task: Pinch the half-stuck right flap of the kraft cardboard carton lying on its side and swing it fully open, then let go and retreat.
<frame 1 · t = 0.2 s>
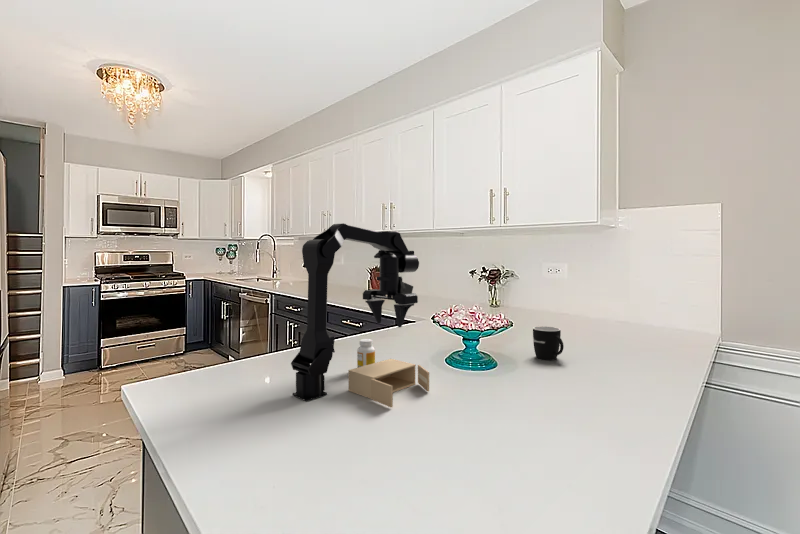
hand: (389, 325, 127), 14 cm above the countertop, fingers open, 9 cm apart
carton: (383, 387, 114), on the countertop
left flap: (381, 392, 101), point 3 cm above the countertop, hinge at 95.0°
right flap: (423, 377, 113), point 3 cm above the countertop, hinge at 60.0°
supplement bottle: (366, 372, 129), on the countertop
mug: (549, 359, 143), on the countertop
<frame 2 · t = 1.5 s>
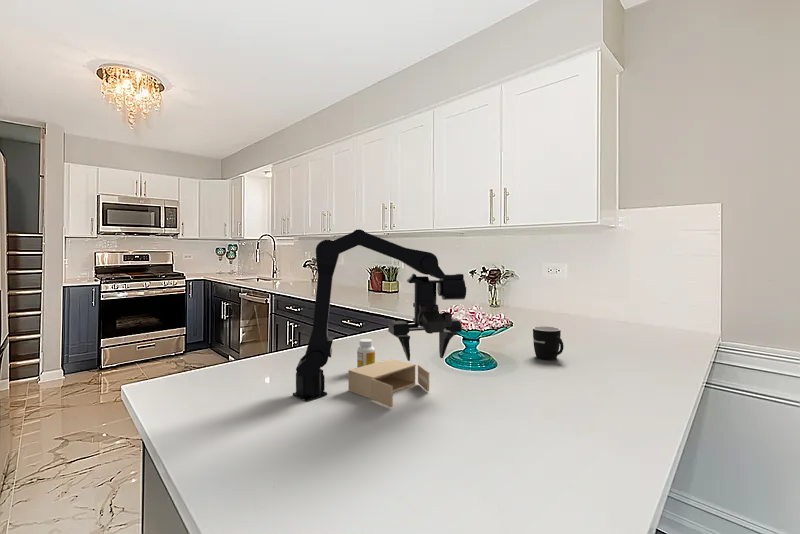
hand: (425, 359, 111), 8 cm above the countertop, fingers open, 9 cm apart
nothing on the countertop moved.
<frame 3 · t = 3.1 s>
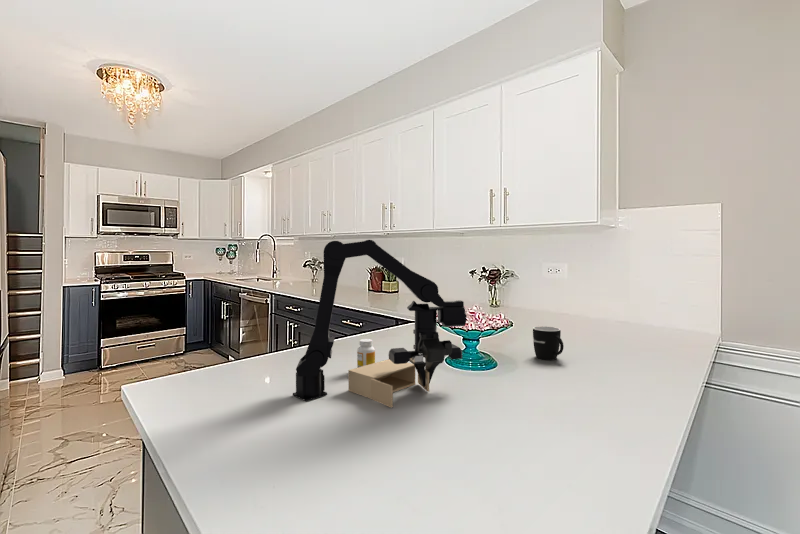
hand: (425, 386, 111), 1 cm above the countertop, fingers closed, pressing on right flap
right flap: (423, 377, 113), point 3 cm above the countertop, hinge at 60.0°, touching gripper
everything else where it was.
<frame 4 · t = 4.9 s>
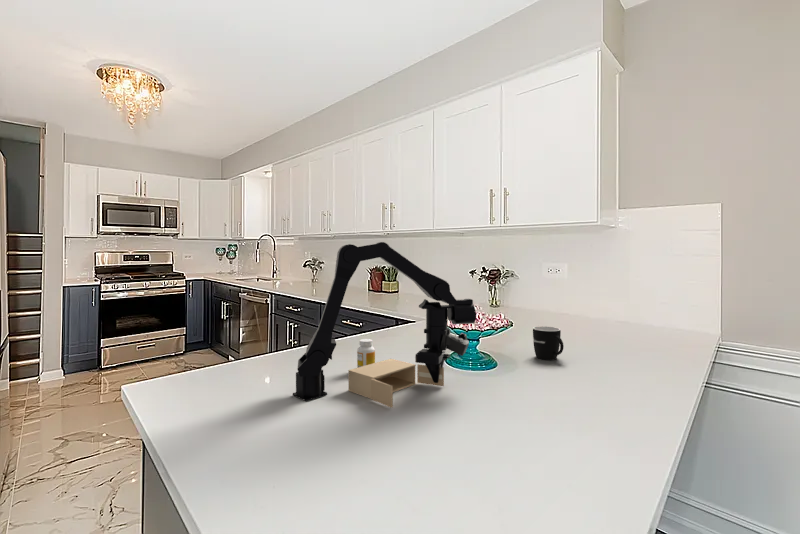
hand: (436, 382, 114), 1 cm above the countertop, fingers closed
right flap: (430, 375, 115), point 3 cm above the countertop, hinge at 108.3°, touching gripper
everything else where it was.
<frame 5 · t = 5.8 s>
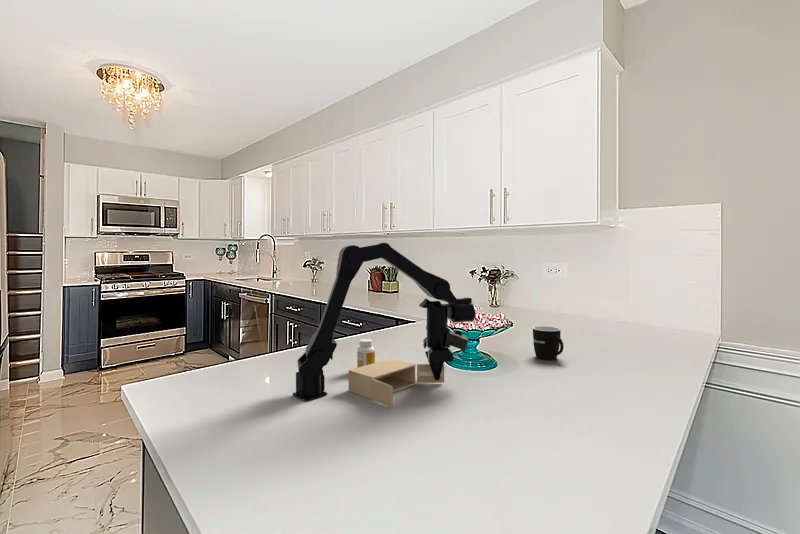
hand: (437, 379, 117), 1 cm above the countertop, fingers closed, pressing on right flap
right flap: (430, 373, 117), point 3 cm above the countertop, hinge at 133.2°, touching gripper
everything else where it was.
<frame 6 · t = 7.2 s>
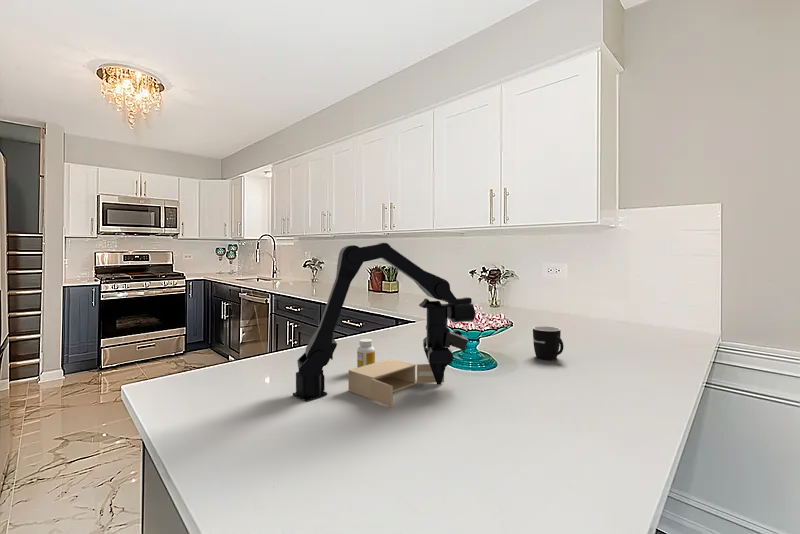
hand: (436, 379, 117), 1 cm above the countertop, fingers open, 9 cm apart
right flap: (430, 373, 117), point 3 cm above the countertop, hinge at 134.6°
everything else where it was.
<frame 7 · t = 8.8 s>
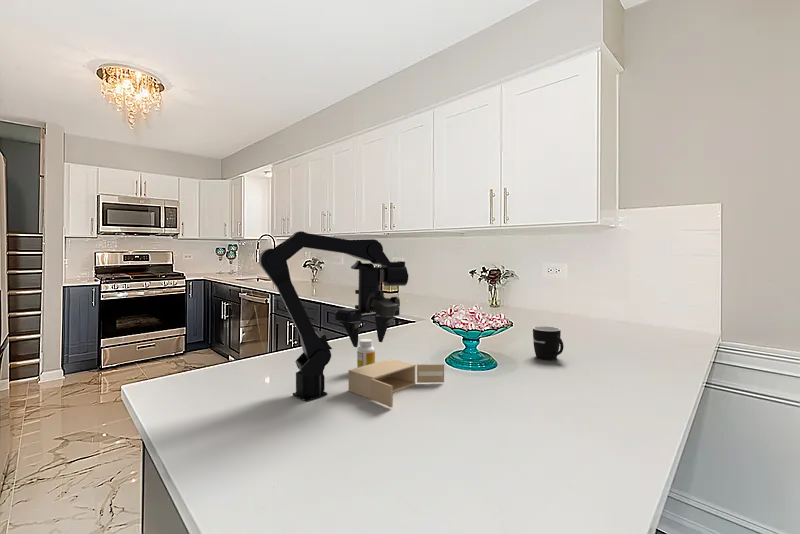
hand: (368, 344, 113), 12 cm above the countertop, fingers open, 9 cm apart
nothing on the countertop moved.
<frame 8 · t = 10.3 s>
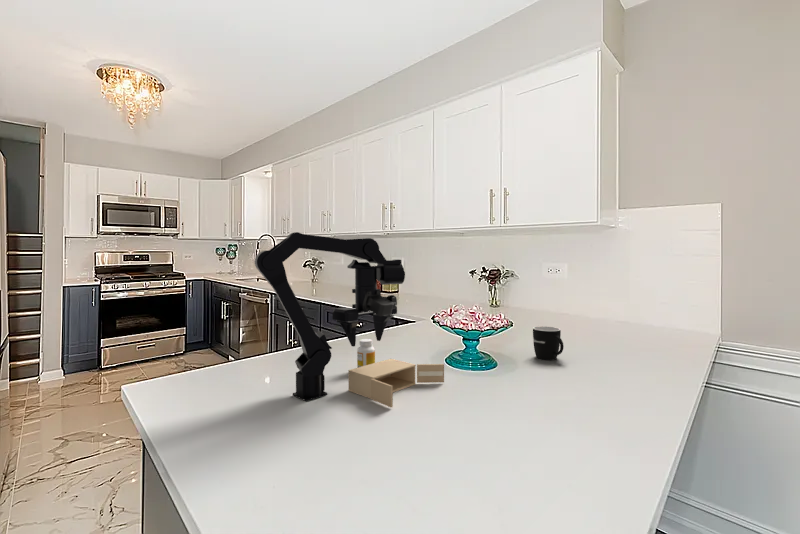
hand: (366, 343, 113), 12 cm above the countertop, fingers open, 9 cm apart
nothing on the countertop moved.
at the end: right flap at +135° (first picture: +60°); the gripper is holding nothing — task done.
